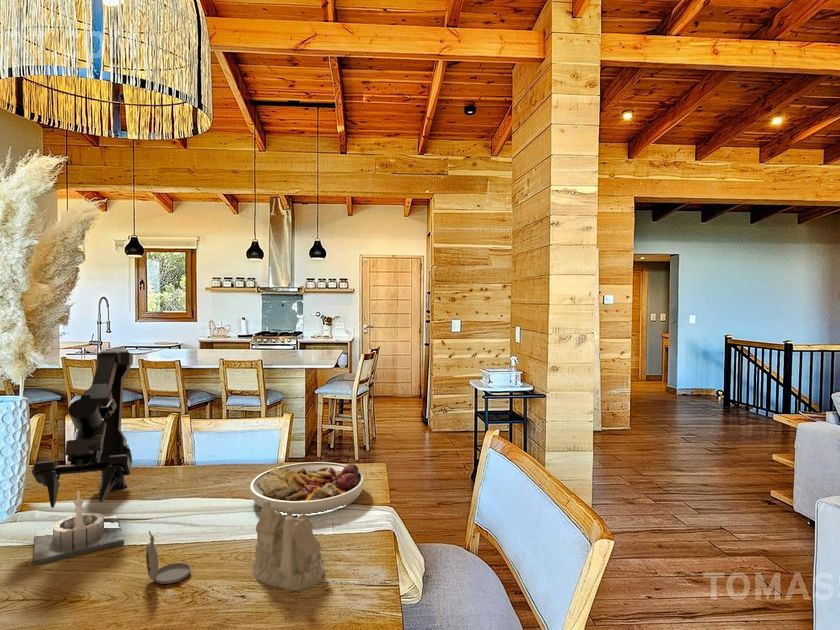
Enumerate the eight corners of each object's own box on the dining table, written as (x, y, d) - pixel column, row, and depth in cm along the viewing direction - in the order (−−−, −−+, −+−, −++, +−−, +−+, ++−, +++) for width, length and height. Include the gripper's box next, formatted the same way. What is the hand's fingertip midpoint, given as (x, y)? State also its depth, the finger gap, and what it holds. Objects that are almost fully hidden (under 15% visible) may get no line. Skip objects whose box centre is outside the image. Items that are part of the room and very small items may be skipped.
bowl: (257, 531, 121) (257, 498, 121) (245, 487, 148) (244, 460, 148) (378, 510, 133) (378, 480, 133) (346, 472, 160) (346, 447, 160)
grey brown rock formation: (293, 597, 94) (295, 513, 95) (236, 573, 103) (238, 497, 104) (350, 565, 107) (351, 492, 108) (295, 546, 116) (296, 479, 117)
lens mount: (35, 535, 118) (35, 517, 117) (117, 517, 127) (116, 501, 127) (33, 565, 104) (32, 546, 104) (124, 543, 114) (123, 526, 114)
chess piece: (65, 541, 112) (64, 496, 112) (66, 532, 117) (65, 489, 116) (92, 536, 115) (91, 492, 115) (92, 527, 119) (91, 485, 119)
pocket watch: (198, 571, 103) (197, 521, 103) (164, 594, 95) (164, 540, 95) (166, 563, 106) (165, 515, 105) (131, 585, 98) (130, 533, 97)
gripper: (33, 426, 115) (14, 493, 105) (128, 420, 121) (118, 483, 111) (46, 451, 123) (30, 515, 113) (135, 444, 129) (126, 504, 119)
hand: (76, 504), depth 114 cm, fingers open, 9 cm apart
